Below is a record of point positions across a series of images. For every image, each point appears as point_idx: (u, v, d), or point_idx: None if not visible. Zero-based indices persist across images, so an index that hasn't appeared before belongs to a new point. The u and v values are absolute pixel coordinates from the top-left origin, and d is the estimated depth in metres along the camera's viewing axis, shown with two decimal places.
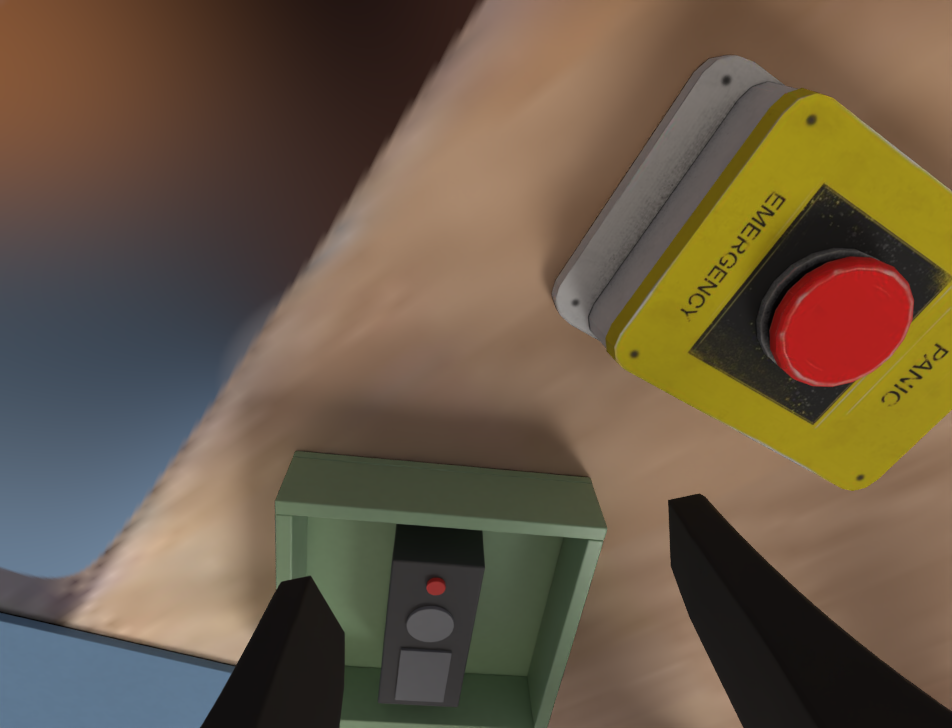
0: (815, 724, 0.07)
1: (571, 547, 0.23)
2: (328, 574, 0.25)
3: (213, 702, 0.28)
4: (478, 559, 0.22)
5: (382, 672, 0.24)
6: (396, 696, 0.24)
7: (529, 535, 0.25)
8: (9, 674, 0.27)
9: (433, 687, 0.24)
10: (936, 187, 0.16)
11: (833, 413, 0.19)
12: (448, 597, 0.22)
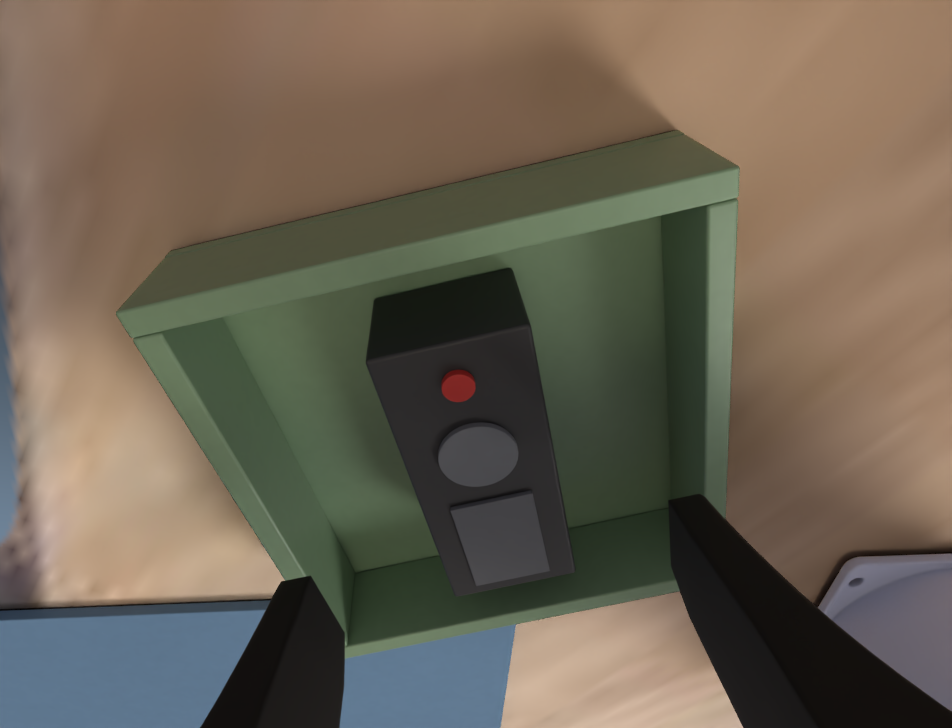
0: (815, 724, 0.07)
1: (680, 259, 0.13)
2: (322, 438, 0.16)
3: None
4: (516, 317, 0.12)
5: (440, 552, 0.15)
6: (476, 580, 0.16)
7: (603, 276, 0.14)
8: (16, 679, 0.21)
9: (525, 553, 0.15)
10: None
11: None
12: (488, 400, 0.13)
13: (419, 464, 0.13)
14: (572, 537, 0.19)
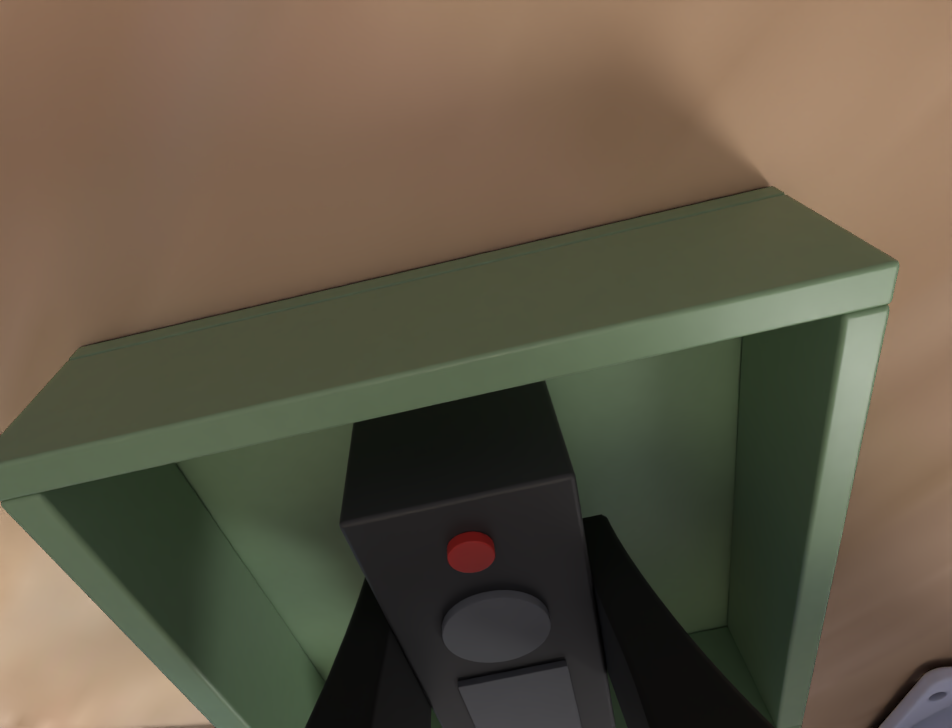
0: None
1: (776, 364, 0.09)
2: (293, 565, 0.13)
3: None
4: (553, 459, 0.08)
5: (443, 726, 0.12)
6: None
7: (661, 373, 0.11)
8: None
9: (555, 725, 0.12)
10: None
11: None
12: (512, 565, 0.09)
13: (416, 638, 0.10)
14: None
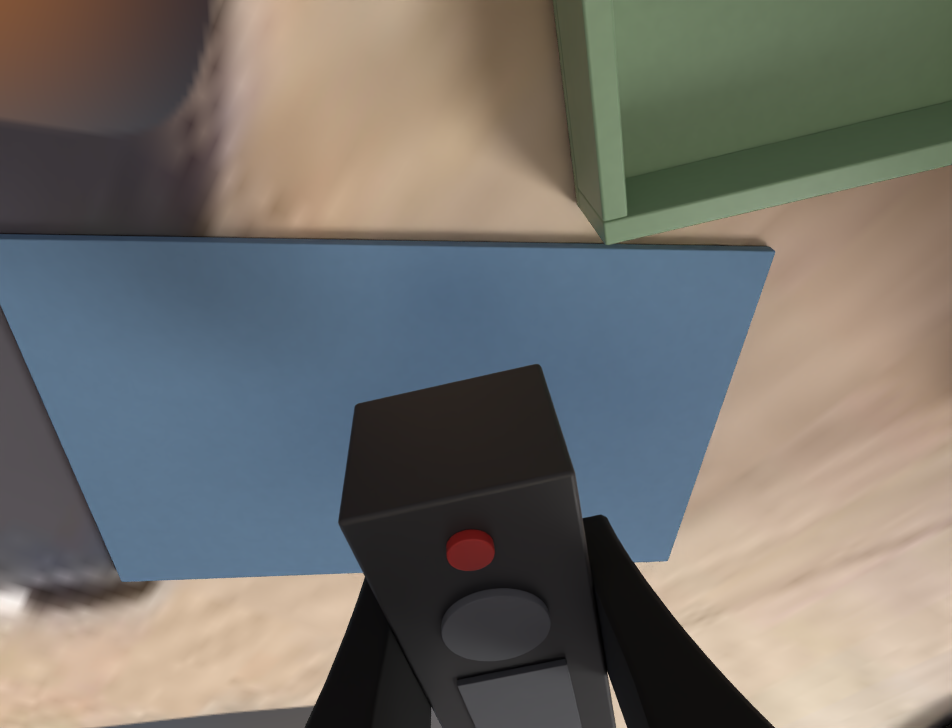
0: None
1: None
2: None
3: (469, 319, 0.18)
4: (553, 457, 0.08)
5: (443, 725, 0.12)
6: None
7: None
8: (166, 351, 0.18)
9: (555, 724, 0.12)
10: None
11: None
12: (512, 563, 0.09)
13: (415, 636, 0.10)
14: (879, 122, 0.15)
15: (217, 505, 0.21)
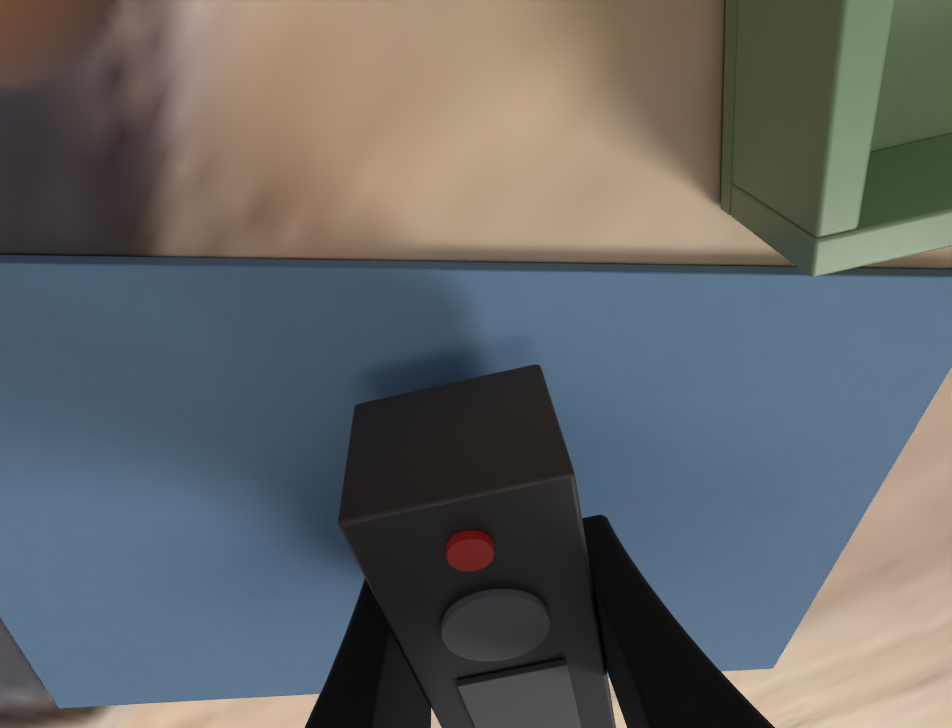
0: None
1: None
2: None
3: (546, 376, 0.12)
4: (552, 458, 0.08)
5: (443, 725, 0.12)
6: None
7: None
8: (97, 424, 0.12)
9: (554, 725, 0.12)
10: None
11: None
12: (511, 563, 0.09)
13: (415, 636, 0.10)
14: None
15: (182, 618, 0.15)
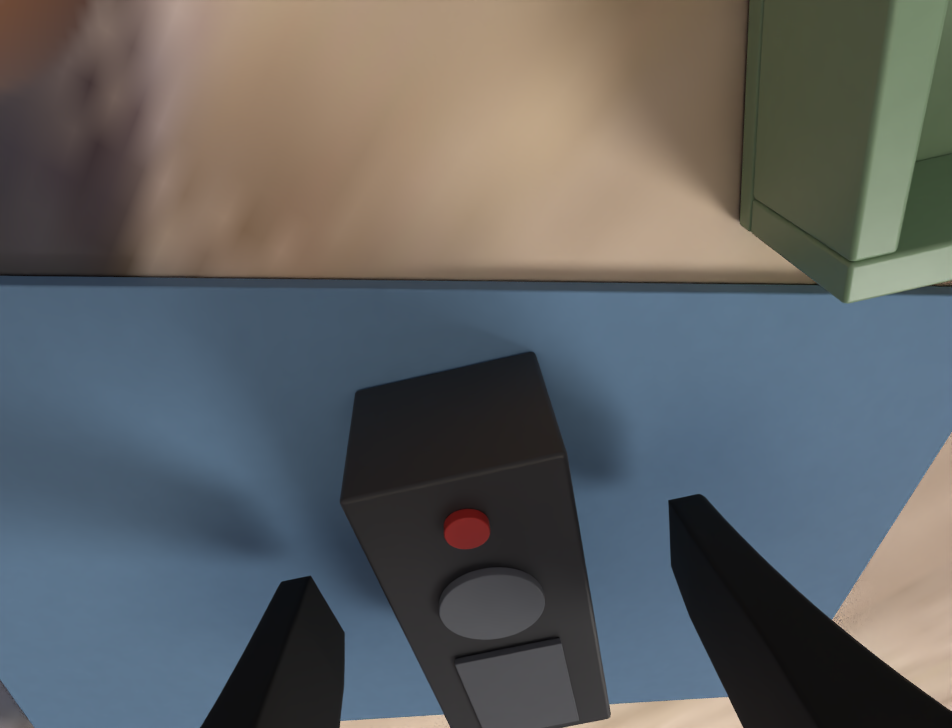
0: (815, 724, 0.07)
1: None
2: None
3: (552, 400, 0.11)
4: (546, 439, 0.09)
5: (441, 704, 0.12)
6: None
7: None
8: (76, 452, 0.11)
9: (550, 704, 0.12)
10: None
11: None
12: (507, 541, 0.09)
13: (414, 615, 0.10)
14: None
15: (170, 648, 0.15)
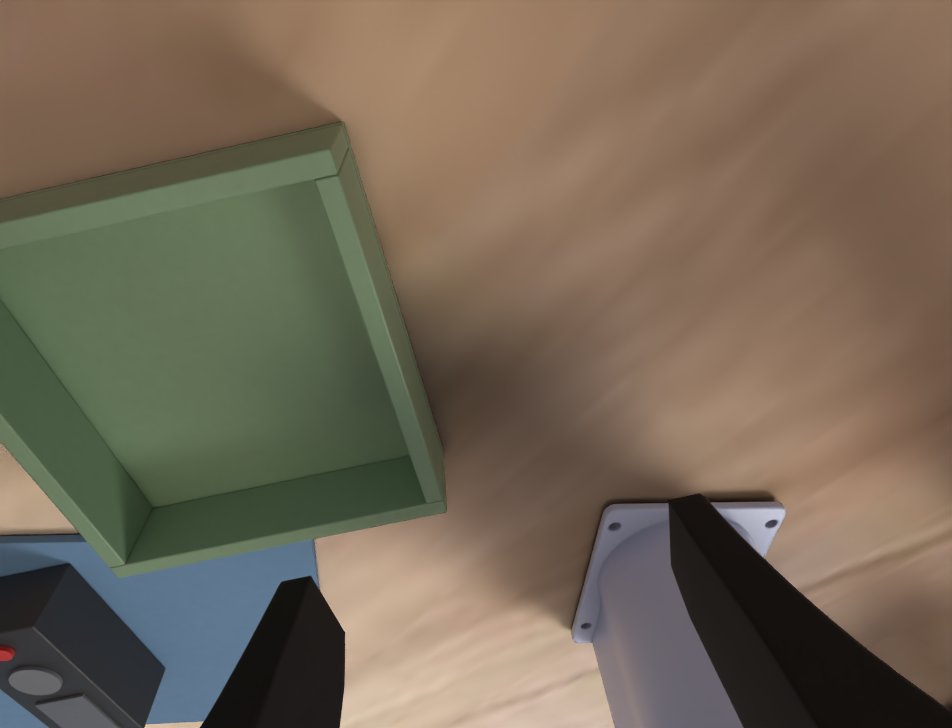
0: (815, 724, 0.07)
1: None
2: (93, 382, 0.19)
3: (91, 580, 0.24)
4: (31, 618, 0.21)
5: None
6: None
7: (305, 243, 0.17)
8: None
9: (98, 723, 0.25)
10: None
11: None
12: (28, 656, 0.22)
13: (3, 684, 0.23)
14: (337, 477, 0.22)
15: None
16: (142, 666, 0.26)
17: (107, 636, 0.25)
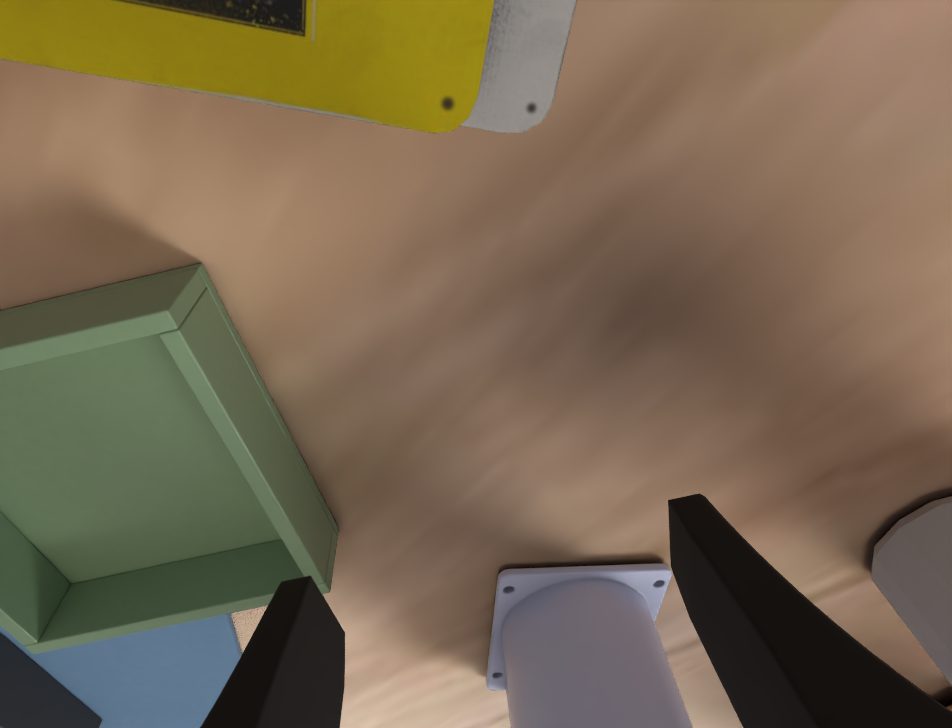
0: (815, 724, 0.07)
1: None
2: (2, 481, 0.21)
3: (22, 646, 0.26)
4: None
5: None
6: None
7: None
8: None
9: None
10: None
11: (319, 2, 0.12)
12: None
13: None
14: (237, 555, 0.23)
15: None
16: (76, 720, 0.28)
17: (38, 696, 0.27)
